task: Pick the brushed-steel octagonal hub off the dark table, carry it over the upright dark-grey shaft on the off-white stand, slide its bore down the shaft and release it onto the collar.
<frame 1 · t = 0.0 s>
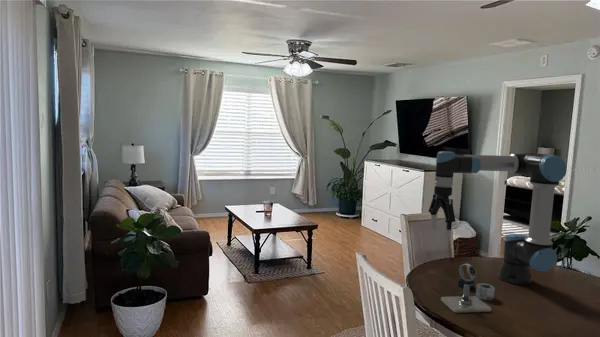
hand: (440, 232, 187), 28 cm above the table, fingers open, 13 cm apart
watch: (466, 287, 198), on the table
hub: (484, 297, 186), on the table
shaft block: (465, 305, 176), on the table
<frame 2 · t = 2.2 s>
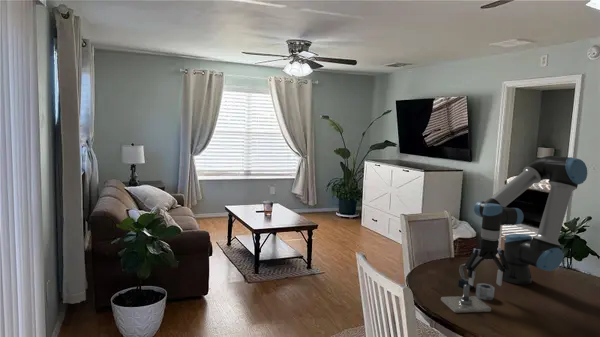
hand: (484, 284, 185), 6 cm above the table, fingers open, 13 cm apart
nothing on the table moved.
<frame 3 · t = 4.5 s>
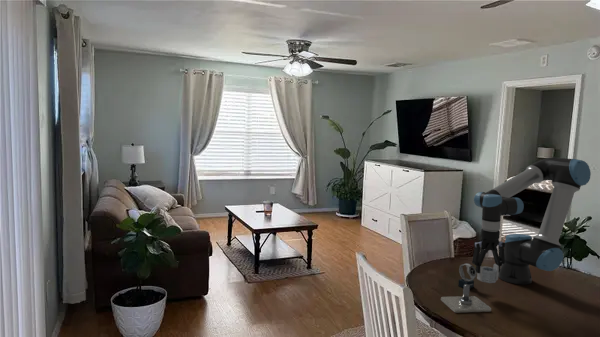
hand: (487, 279, 186), 8 cm above the table, fingers closed on hub, 7 cm apart
hub: (487, 279, 186), point 8 cm above the table, touching gripper
everything else where it was.
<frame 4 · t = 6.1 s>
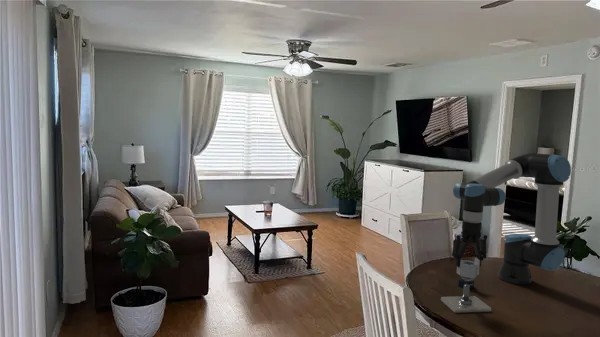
hand: (467, 273, 175), 14 cm above the table, fingers closed on hub, 7 cm apart
hub: (467, 274, 175), point 14 cm above the table, touching gripper
everything else where it was.
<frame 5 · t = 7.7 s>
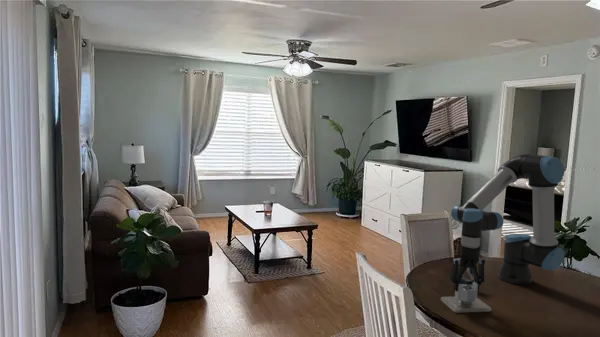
hand: (465, 298, 176), 3 cm above the table, fingers closed on hub, 7 cm apart
hub: (465, 298, 176), point 3 cm above the table, touching gripper
everything else where it was.
when the fingers open (3 cm above the table, at t = 8.2 s): hub stays where it is, resting on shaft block.
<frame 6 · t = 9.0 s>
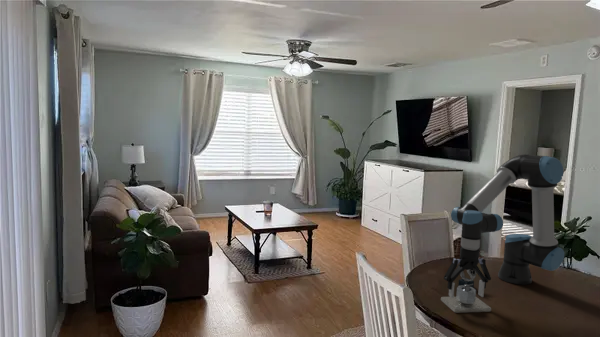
hand: (465, 296, 176), 4 cm above the table, fingers open, 13 cm apart
hub: (465, 300, 176), point 2 cm above the table, touching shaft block
everything else where it was.
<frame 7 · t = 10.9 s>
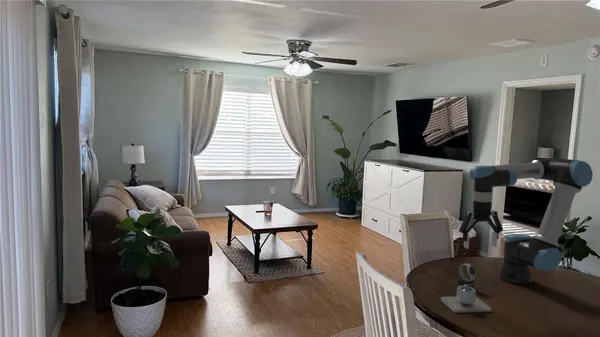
hand: (480, 247, 186), 22 cm above the table, fingers open, 13 cm apart
nothing on the table moved.
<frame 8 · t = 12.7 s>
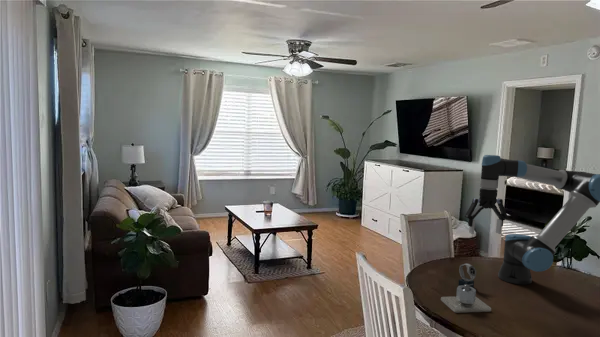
hand: (484, 233, 194), 27 cm above the table, fingers open, 13 cm apart
nothing on the table moved.
at the end: hub 0.0 cm off-centre on the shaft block, point 2.5 cm above the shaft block's base; the gripper is holding nothing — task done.
